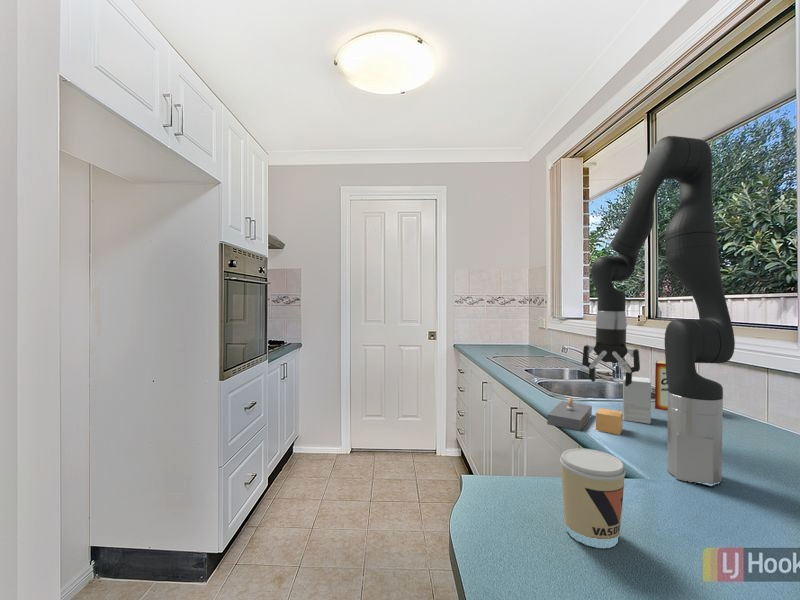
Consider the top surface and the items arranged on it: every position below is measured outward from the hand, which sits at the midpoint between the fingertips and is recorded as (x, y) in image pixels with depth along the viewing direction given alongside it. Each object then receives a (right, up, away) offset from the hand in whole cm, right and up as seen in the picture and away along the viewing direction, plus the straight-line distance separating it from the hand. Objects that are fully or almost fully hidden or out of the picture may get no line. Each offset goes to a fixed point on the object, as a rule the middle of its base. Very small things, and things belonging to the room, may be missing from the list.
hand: (610, 383), depth 109 cm
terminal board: (-7, -13, +9) cm, 17 cm away
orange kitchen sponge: (0, -13, 0) cm, 13 cm away
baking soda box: (+33, -13, +21) cm, 41 cm away
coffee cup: (-29, -14, -48) cm, 58 cm away
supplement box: (+14, -13, +10) cm, 21 cm away
